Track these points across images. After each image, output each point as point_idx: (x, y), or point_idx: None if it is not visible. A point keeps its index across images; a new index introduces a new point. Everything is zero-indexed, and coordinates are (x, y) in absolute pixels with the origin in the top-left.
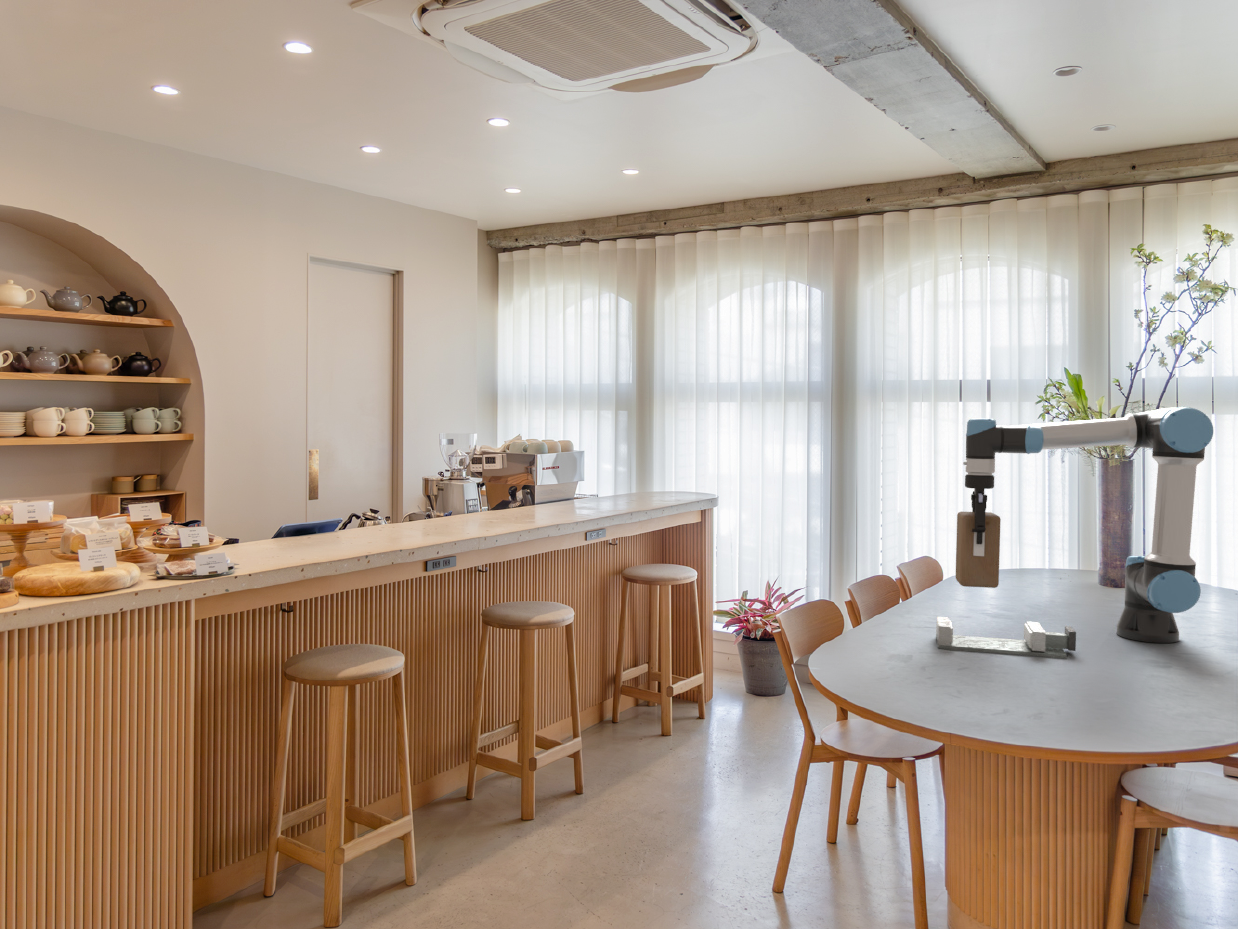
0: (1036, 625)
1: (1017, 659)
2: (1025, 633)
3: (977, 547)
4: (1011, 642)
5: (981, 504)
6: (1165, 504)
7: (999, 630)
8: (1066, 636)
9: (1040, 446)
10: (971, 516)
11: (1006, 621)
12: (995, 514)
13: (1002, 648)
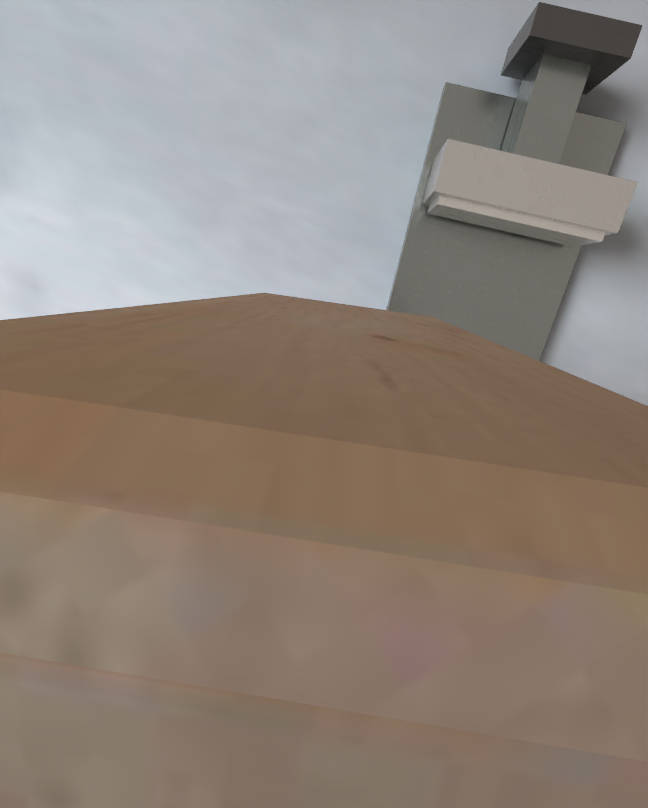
0: (509, 173)
1: (611, 309)
2: (472, 218)
3: None
4: (449, 269)
5: None
6: None
7: (220, 232)
8: (588, 72)
9: None
10: None
11: (66, 151)
12: (126, 538)
13: (529, 329)
